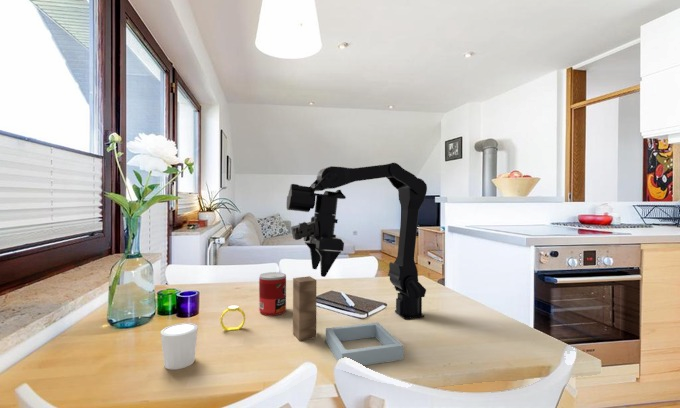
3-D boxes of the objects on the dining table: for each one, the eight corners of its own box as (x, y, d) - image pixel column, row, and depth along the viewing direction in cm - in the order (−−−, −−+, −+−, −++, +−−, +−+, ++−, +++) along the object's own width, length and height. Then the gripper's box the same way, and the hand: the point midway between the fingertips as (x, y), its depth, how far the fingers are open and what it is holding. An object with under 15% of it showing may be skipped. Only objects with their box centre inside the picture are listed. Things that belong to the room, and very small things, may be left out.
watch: (244, 327, 87) (246, 305, 87) (244, 331, 84) (246, 308, 84) (220, 328, 85) (222, 305, 85) (219, 332, 82) (221, 308, 82)
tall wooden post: (309, 330, 84) (309, 276, 84) (316, 337, 80) (316, 280, 80) (293, 334, 82) (293, 278, 82) (299, 340, 78) (299, 282, 78)
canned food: (280, 316, 94) (280, 278, 94) (254, 314, 95) (254, 277, 95) (289, 308, 101) (289, 272, 101) (265, 306, 103) (265, 271, 103)
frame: (378, 334, 82) (378, 322, 82) (403, 359, 69) (403, 345, 69) (325, 340, 78) (325, 328, 78) (342, 368, 65) (342, 353, 65)
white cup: (169, 355, 71) (169, 322, 70) (202, 354, 71) (202, 321, 71) (154, 371, 64) (154, 336, 64) (190, 370, 64) (190, 334, 64)
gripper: (289, 209, 94) (283, 264, 93) (302, 212, 76) (294, 279, 76) (326, 213, 97) (320, 266, 97) (347, 217, 79) (340, 281, 79)
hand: (318, 272), depth 87 cm, fingers open, 9 cm apart
